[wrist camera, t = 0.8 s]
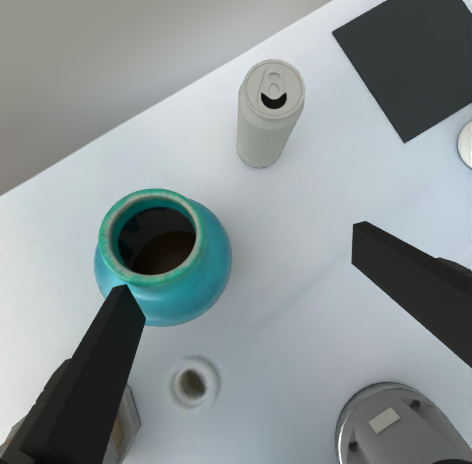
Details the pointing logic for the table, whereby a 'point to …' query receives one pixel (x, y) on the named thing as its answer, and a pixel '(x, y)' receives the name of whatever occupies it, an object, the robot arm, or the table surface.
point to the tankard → (120, 435)
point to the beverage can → (268, 111)
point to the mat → (413, 59)
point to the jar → (466, 144)
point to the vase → (163, 255)
